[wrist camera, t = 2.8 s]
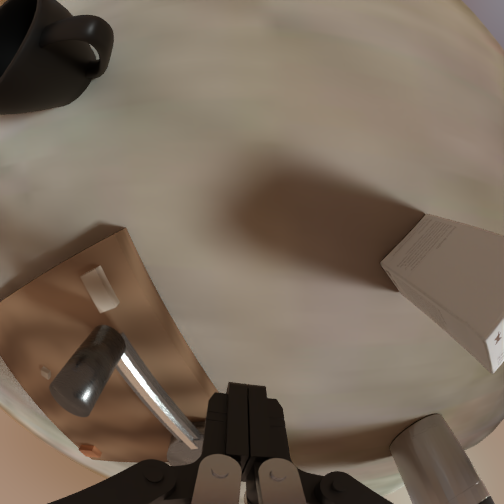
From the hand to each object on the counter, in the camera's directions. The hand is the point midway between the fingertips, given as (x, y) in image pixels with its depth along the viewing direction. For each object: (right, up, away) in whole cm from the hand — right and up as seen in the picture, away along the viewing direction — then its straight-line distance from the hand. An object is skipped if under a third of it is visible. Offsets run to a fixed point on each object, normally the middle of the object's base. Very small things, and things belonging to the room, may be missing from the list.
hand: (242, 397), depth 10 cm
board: (-16, -8, +12) cm, 22 cm away
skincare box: (+14, +6, +9) cm, 18 cm away
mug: (-13, +20, +5) cm, 24 cm away
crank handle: (-6, -8, +10) cm, 14 cm away
